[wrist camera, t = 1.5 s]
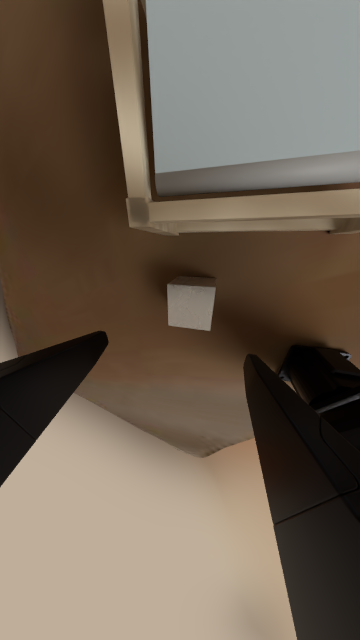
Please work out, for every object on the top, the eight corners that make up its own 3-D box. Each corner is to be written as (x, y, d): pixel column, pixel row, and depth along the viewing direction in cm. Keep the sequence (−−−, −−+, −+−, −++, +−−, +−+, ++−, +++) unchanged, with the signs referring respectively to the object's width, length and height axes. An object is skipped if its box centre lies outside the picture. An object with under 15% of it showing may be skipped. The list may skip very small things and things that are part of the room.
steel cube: (212, 313, 20) (210, 330, 16) (178, 309, 21) (168, 325, 17) (216, 277, 18) (215, 287, 13) (178, 275, 19) (167, 284, 14)
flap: (430, 180, 7) (469, 168, 6) (162, 199, 10) (155, 193, 9) (719, -275, 3) (963, -530, 2) (153, -26, 6) (140, -82, 5)
